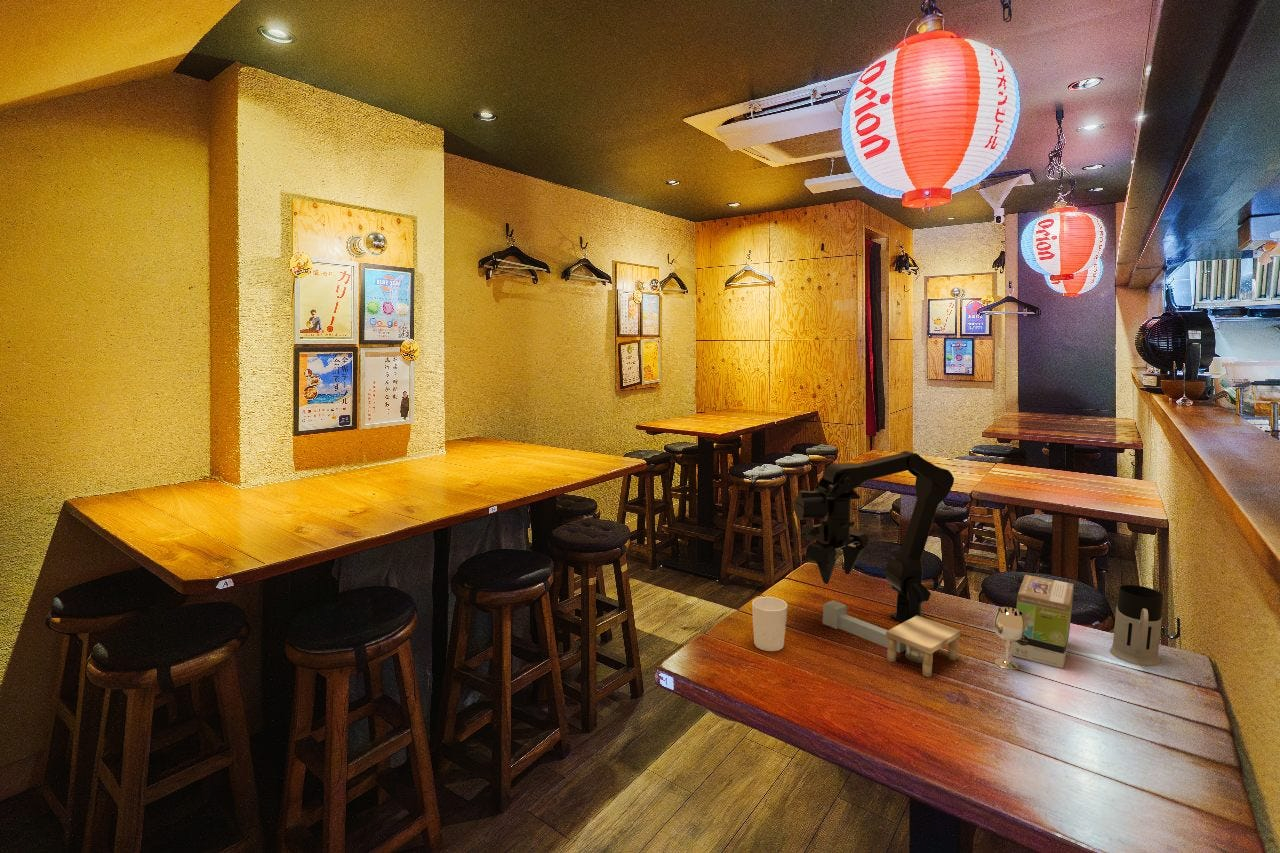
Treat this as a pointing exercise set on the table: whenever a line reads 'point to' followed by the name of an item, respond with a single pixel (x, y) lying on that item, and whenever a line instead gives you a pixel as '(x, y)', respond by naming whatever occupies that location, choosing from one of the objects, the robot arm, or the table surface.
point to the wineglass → (1008, 631)
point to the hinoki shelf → (923, 640)
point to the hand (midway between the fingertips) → (836, 578)
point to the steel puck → (914, 654)
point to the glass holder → (1137, 625)
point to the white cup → (769, 623)
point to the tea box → (1044, 620)
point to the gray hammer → (855, 625)
